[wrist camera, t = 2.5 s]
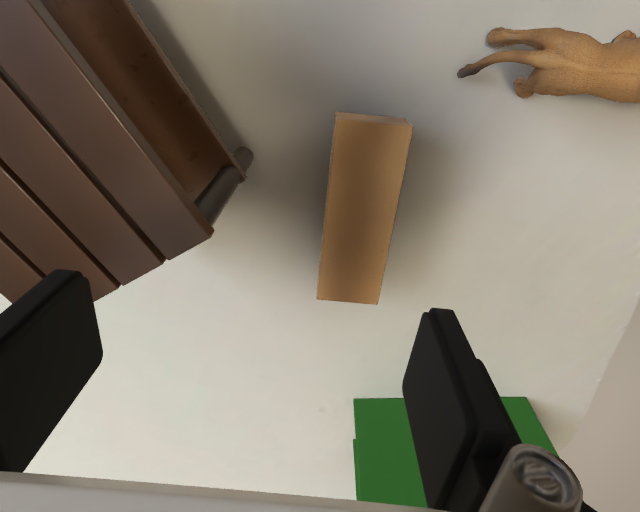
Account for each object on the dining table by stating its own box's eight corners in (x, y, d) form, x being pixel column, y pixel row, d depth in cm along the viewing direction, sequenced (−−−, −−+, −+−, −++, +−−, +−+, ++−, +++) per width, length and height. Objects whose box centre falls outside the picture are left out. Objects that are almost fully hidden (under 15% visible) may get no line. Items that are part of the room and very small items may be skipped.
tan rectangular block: (401, 113, 27) (413, 126, 23) (371, 273, 33) (377, 305, 29) (335, 107, 27) (336, 118, 23) (317, 268, 33) (316, 299, 29)
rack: (74, -124, 22) (-211, -307, 10) (257, 160, 29) (211, 237, 18) (-52, -5, 24) (-386, -45, 13) (144, 226, 32) (42, 330, 20)
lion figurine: (704, -2, 24) (891, -23, 16) (676, 92, 26) (825, 115, 18) (456, 30, 25) (516, 26, 17) (452, 118, 27) (503, 150, 19)
